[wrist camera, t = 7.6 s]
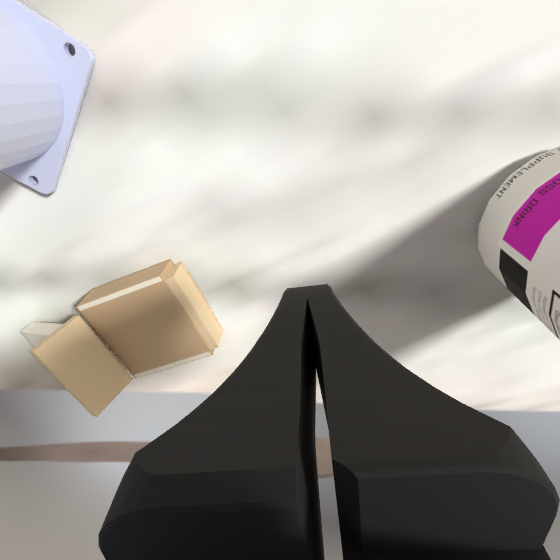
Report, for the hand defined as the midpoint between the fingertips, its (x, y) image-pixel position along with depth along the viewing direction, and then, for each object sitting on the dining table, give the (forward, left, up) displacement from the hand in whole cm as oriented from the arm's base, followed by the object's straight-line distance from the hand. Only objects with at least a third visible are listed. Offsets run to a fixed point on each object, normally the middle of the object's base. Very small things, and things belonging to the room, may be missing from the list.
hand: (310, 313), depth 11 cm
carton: (-4, -12, -10) cm, 16 cm away
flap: (-6, -14, -7) cm, 17 cm away
